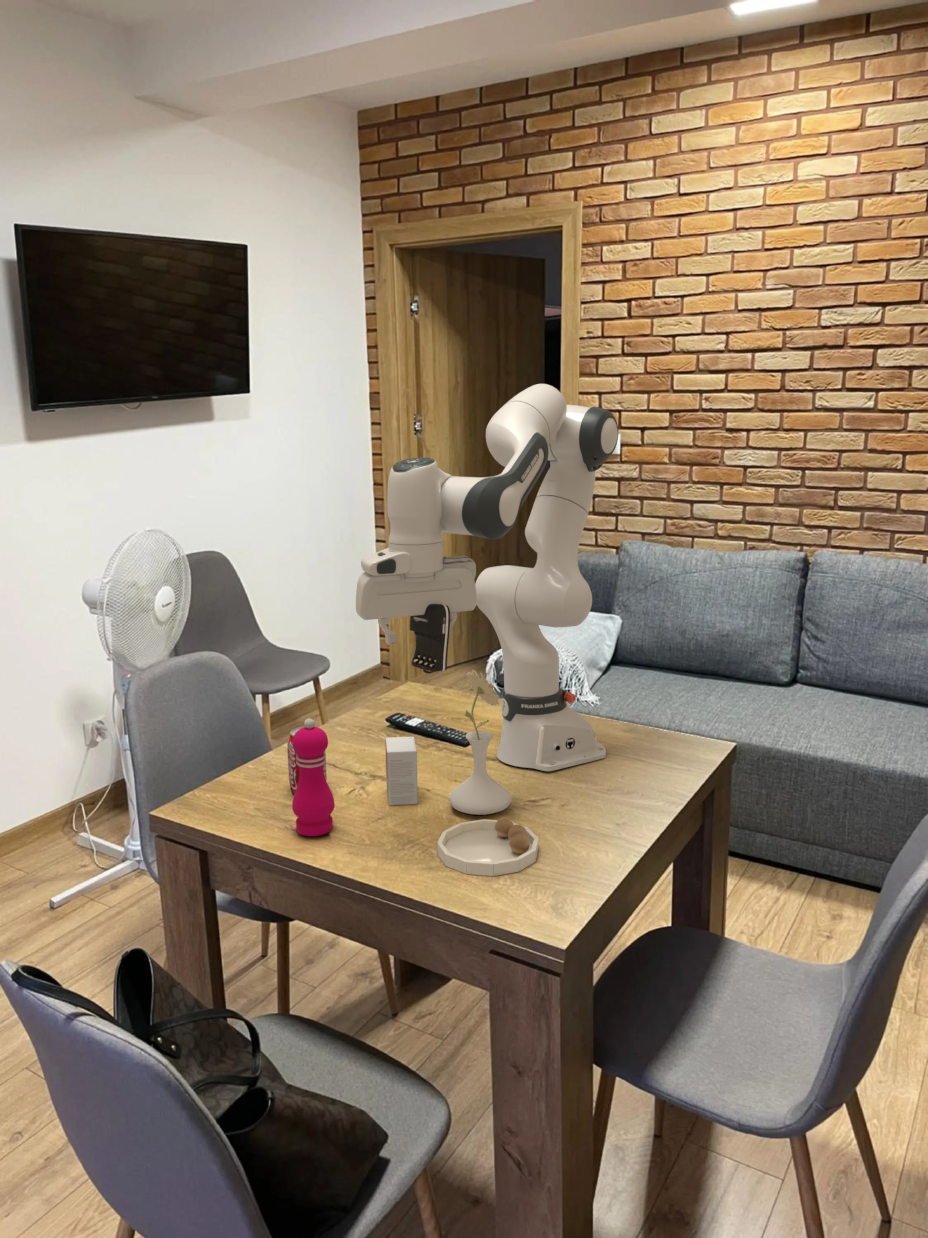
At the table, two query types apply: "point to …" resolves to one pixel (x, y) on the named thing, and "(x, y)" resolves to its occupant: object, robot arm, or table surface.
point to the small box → (401, 770)
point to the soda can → (292, 765)
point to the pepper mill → (312, 782)
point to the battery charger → (431, 637)
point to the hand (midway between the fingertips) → (418, 640)
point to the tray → (483, 849)
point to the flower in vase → (480, 763)
